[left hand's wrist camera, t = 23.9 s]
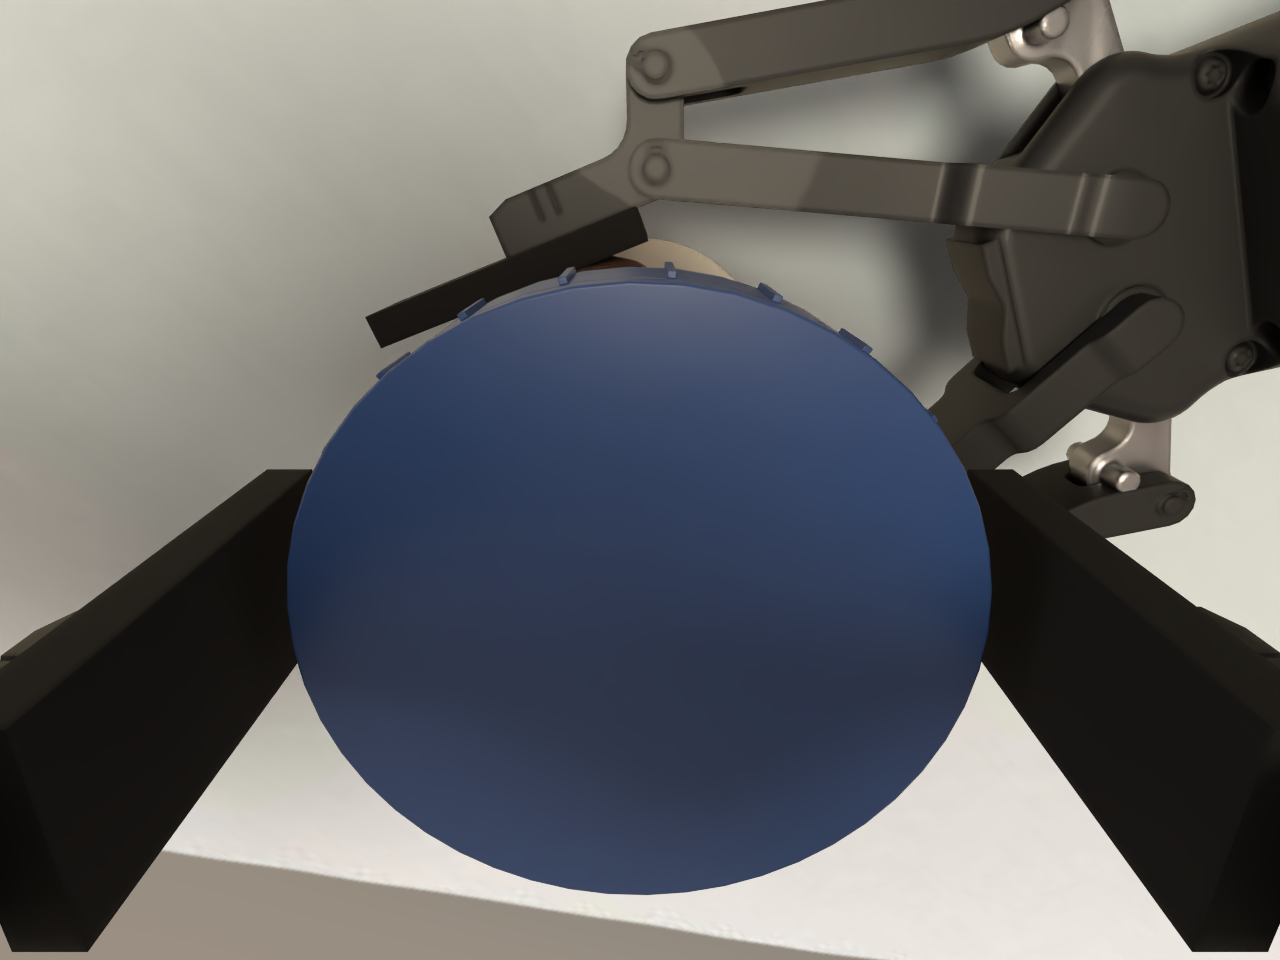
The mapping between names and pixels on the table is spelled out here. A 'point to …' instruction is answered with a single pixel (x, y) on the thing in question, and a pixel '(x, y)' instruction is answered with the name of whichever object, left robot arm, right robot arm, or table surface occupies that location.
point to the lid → (639, 583)
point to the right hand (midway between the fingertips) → (475, 489)
